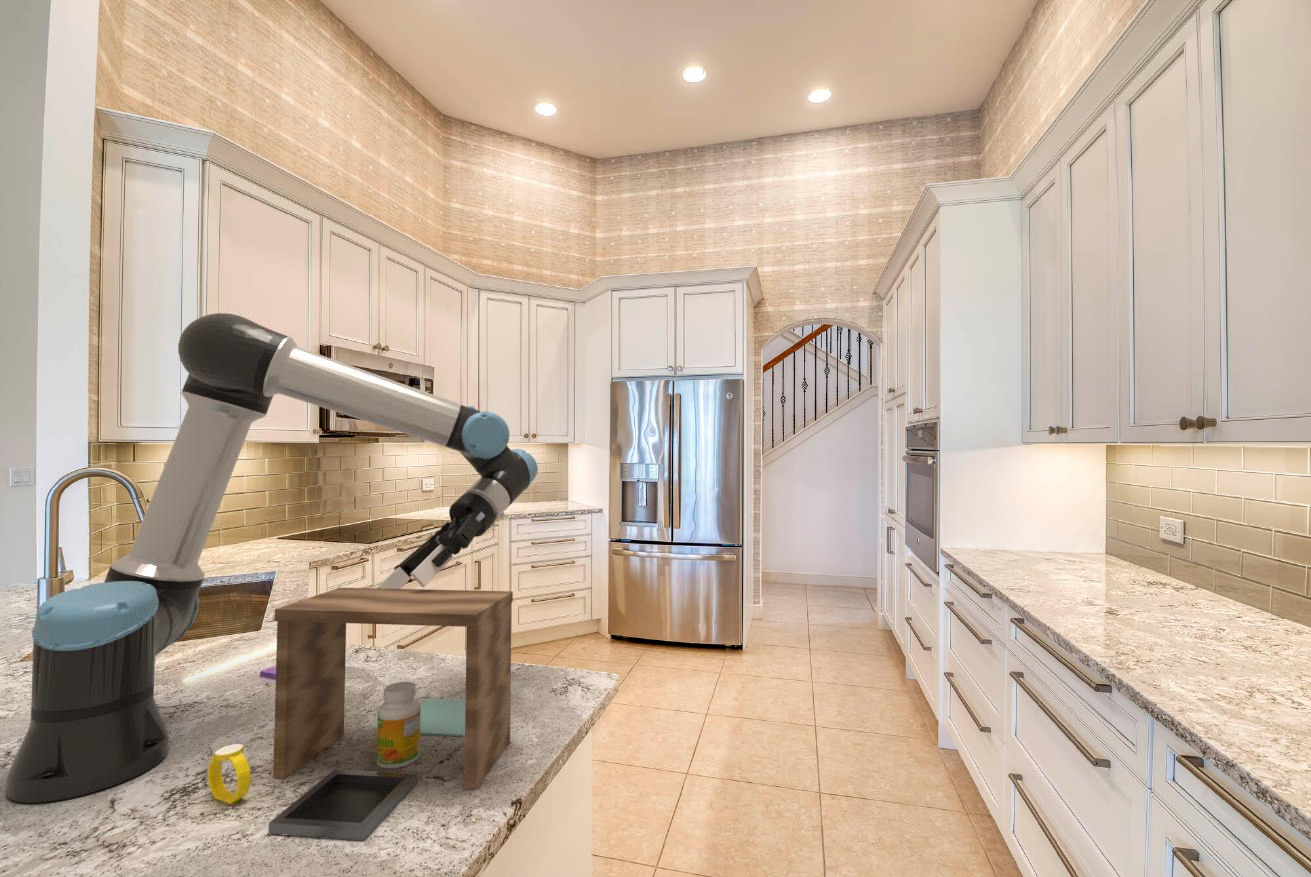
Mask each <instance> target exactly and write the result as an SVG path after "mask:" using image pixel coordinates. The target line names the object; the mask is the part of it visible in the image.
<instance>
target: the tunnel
mask: <svg viewBox="0 0 1311 877" xmlns="http://www.w3.org/2000/svg"><path fill="white" fill-rule="evenodd" d="M513 592H514V591H510V590H508V591H507V590H506V591H505V590H465V589H464V590H463V589H460V590H458V589H422V588H421V589H419V588H418V589H416V588H415V589H414V588H401V589H381V588H377V587H376V588H373V587H371V588H369V587H337V588H334V589H331V590H328V591H326V592H322V593H319V594H316V595H313V596H311V597H308V598H305V599H302V600H299V601H295V602H293V603H290V604H286V605H284V606H281V607H278V608H275V609H274V622H277V623H276V627H277V628H276V654H275V655H276V658H275V659H276V660H275V662H276V663H275V664H276V665H275V666H276V680H275V698H274V728H273V729H274V730H273V731H274V732H273V734H274V735H273V736H274V737H273V767H272V768H273V771H272V772H273V774H272V778H273V779H286V778H287V777H288V776H289V775H291V774H293V772H295V771H296V770H298V769H299V768H300V767H302V766H304V764H306V763H308V762H309V760H311V759H312V758H314V757H315V756H317V755H318V754H319V753H321V752H322V751H323V750H324V749H326V748H328V747H329V746H330V745H332V744H333V743H335V741H337V740H338V739H340V738H341V737H343V736H344V735H345V702H346V701H345V698H346V694H345V693H346V692H345V691H346V656H347V655H346V652H347V650H346V649H347V646H346V645H347V624H358V625H359V624H360V625H361V624H365V625H367V624H368V625H393V626H394V625H396V626H397V625H398V626H433V627H466V631H465V632H466V633H465V634H466V635H465V636H466V638H465V639H466V641H465V644H466V646H465V648H466V649H465V700H466V702H465V735H464V781H463V782H464V785H463V786H464V787H463V788H464V790H475V791H476V790H477V789H478V788H479V786H480V784H482V782H483V781H484V780H485V778H486V776H487V775H488V774H489V772H490V771H491V770H492V768H493V767H494V766H495V764H496V762H497V761H498V760H499V759H500V757H501V756H502V754H503V753H504V752H505V750H506V749H507V748H508V746H509V745H510V743H511V688H512V687H511V685H512V684H511V683H512V681H511V680H512V679H511V678H512V677H511V673H512V672H511V671H512V670H511V669H512V668H511V667H512V665H511V664H512V603H513V599H514V598H513V597H514V595H513Z"/></svg>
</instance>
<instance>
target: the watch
mask: <svg viewBox="0 0 1311 877" xmlns="http://www.w3.org/2000/svg"><path fill="white" fill-rule="evenodd" d="M243 753H244V745H243V744H242V743H234V744H229V745H226V746H223V747H221V748H219V749H217V750H216V751H215V753H214V756H212V757H211V761H210V762H209V765H208V769H207V770H208V772H207V781H208V785H209V789H210V792H211V794H212V796H213V798H214V800H218V801H221V802H224V803H226V804H229V805H232V804H234V803H237V802H238V801H240V800H242V799H243V798H244V797H246V795H247V793H248V792H249V788H250V785H251V768H250V765H249V763H248V760H247V757H246V756H245V754H243ZM227 760H229V762H230V763H231V765H232V766H233V768H234V772H235V775H236V791H235V793H234V792H231V791H230V790H228V788H227V787H226V785H225V783H224V780H223V779H224V778H223V775H222V767H223V766H222V764H223V761H227Z"/></svg>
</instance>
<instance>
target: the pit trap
mask: <svg viewBox="0 0 1311 877" xmlns="http://www.w3.org/2000/svg"><path fill="white" fill-rule="evenodd" d="M417 775H418V774H417V773H409V772H408V773H405V772H390V771H389V772H388V771H373V770H372V771H370V770H369V771H368V770H354V769H352V770H351V769H349V770H348V769H333V770H332V771H331V772H330V773H329V774H327V775H326V776H325V777H324V778H322V779H321V780H319V782H317V783H316V784H315V785H313V786H312V787H311V788H310V789H309V790H307V791H306V792H305V793H304V794H303V795H301V796H300V797H299V798H297V799H296V800H295V801H294V802H292V804H290V805H289V806H288V807H286V808H285V809H284V810H283V811H281V812H280V813H279V814H278V815H276V816H275V817H274V818H273V819H272V820H270V821H269V822H268V833H267V834H268V835H272V834H285V835H284V836H286V834H287V835H291V836H290V837H302V838H304V837H306V838H315V837H317V838H318V837H319V839H330V838H336V839H335V840H345V841H346V840H347V841H361V842H362V841H363V842H364V841H365V840H366V839H367V838H368V837H369V836H370V835H371V834H372V833H373V832H374V831H375V829H376V828H377V827H378V826H379V825H380V824H381V823H382V822H383V821H384V820H385V818H387V816H388V815H389V814H390V813H391V812H392V811H393V810H394V809H395V808H396V807H397V805H399V804H400V803H401V801H402V800H403V799H404V798H405V797H406V796H407V794H408V793H410V792H411V790H413V788H414V787H415V786H416V785H417V779H418V778H417ZM269 833H270V834H269ZM320 837H321V838H320ZM323 837H325V838H323ZM326 837H327V838H326Z"/></svg>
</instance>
